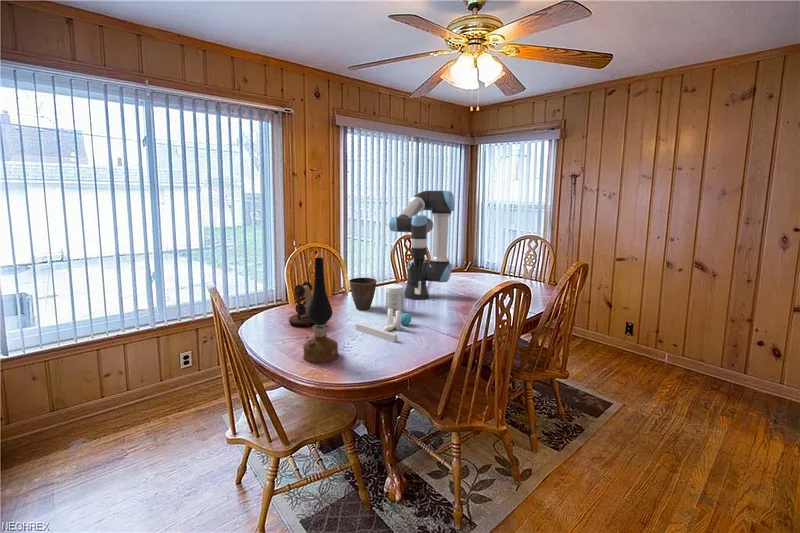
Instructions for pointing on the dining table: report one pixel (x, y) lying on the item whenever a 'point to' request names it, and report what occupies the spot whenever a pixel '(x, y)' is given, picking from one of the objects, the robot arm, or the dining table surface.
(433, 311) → the dining table surface
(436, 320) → the dining table surface
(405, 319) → the ball
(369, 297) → the plant pot
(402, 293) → the supplement tub
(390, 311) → the pin
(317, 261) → the oil lamp
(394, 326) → the front pin
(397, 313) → the pin
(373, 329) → the back wall
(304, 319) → the dark brown upright piece
